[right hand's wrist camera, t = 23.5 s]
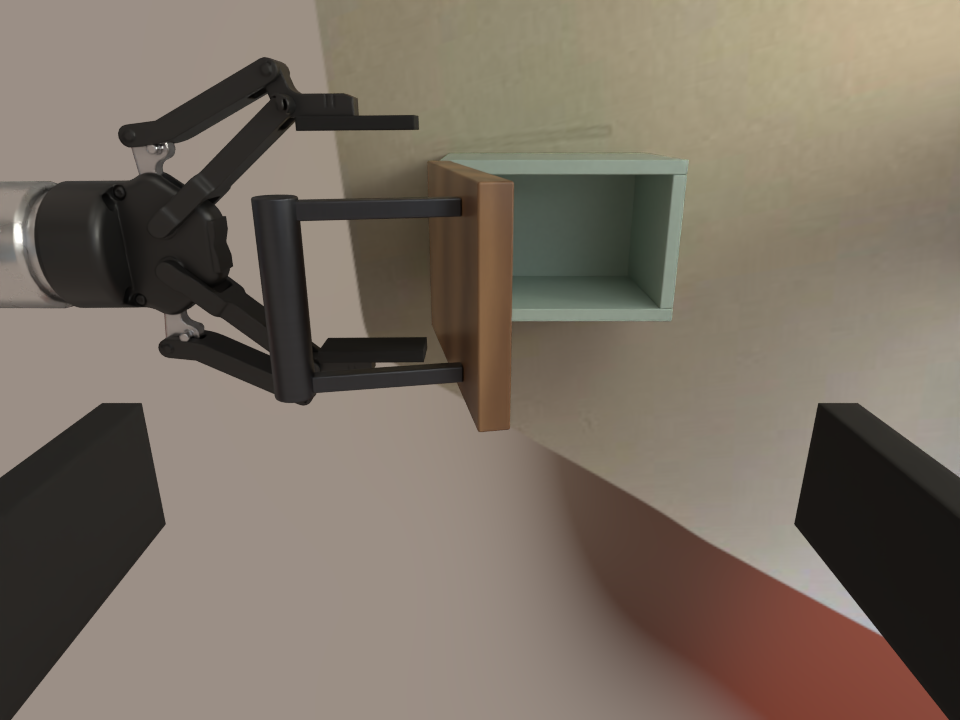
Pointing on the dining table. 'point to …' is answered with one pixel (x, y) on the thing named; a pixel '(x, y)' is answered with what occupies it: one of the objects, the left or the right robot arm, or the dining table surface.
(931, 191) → the dining table surface
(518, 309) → the chest
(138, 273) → the left robot arm
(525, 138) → the dining table surface
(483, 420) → the lid
